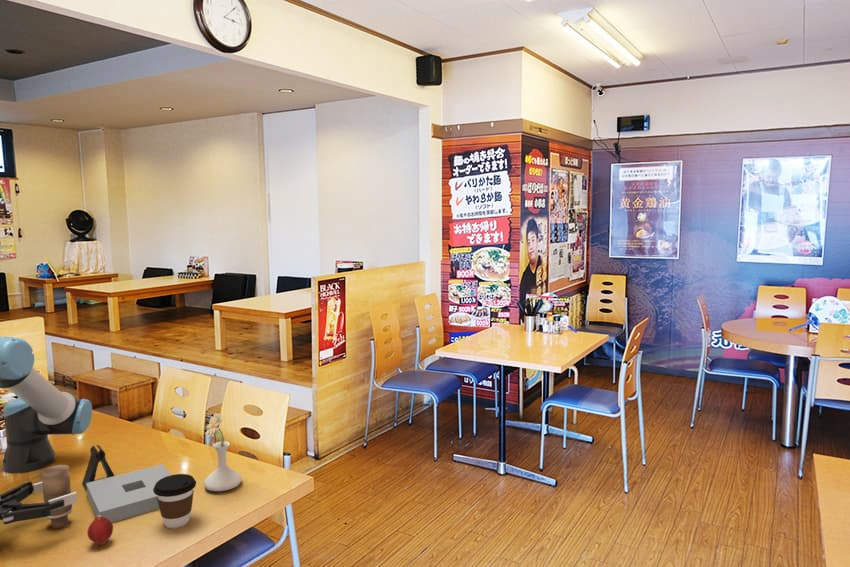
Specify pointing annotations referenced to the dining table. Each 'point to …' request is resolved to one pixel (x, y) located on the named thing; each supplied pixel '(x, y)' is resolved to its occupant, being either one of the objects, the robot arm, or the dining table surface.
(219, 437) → the flower in vase
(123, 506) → the slate board
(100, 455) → the phone stand
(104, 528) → the onion
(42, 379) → the robot arm
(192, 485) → the coffee cup
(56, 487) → the walnut peg
